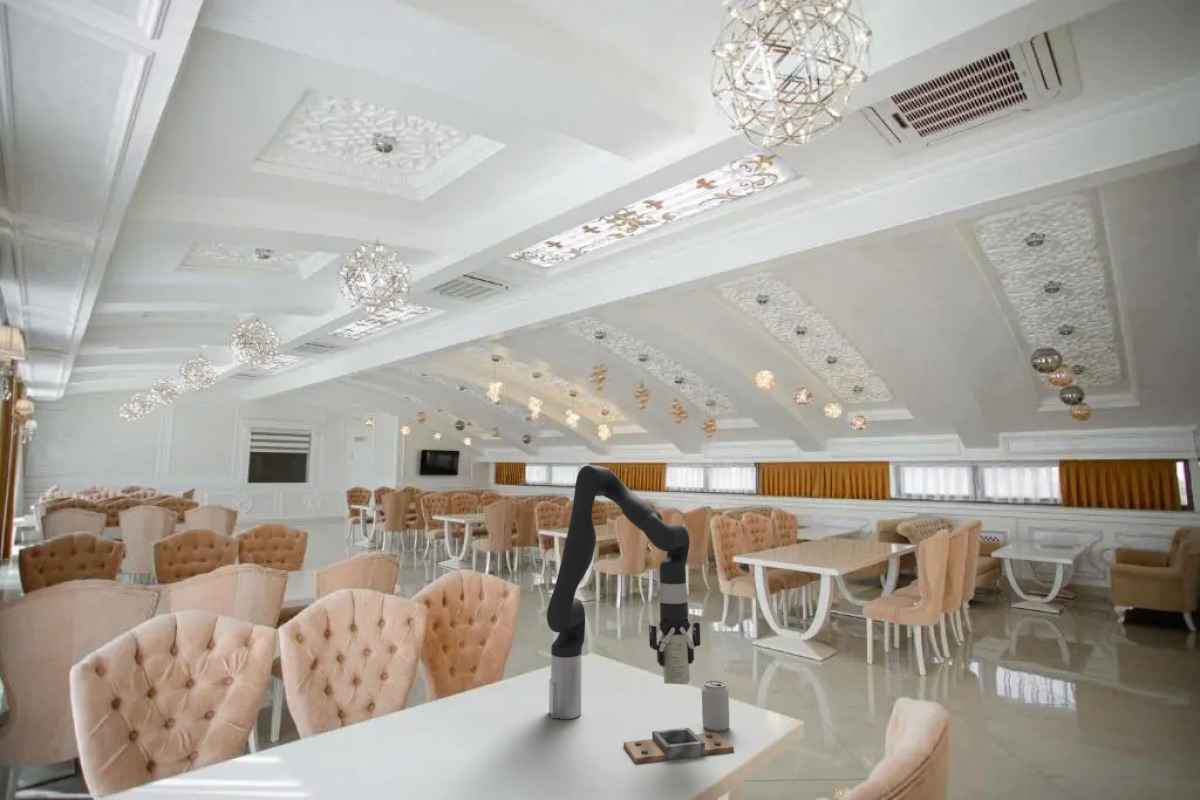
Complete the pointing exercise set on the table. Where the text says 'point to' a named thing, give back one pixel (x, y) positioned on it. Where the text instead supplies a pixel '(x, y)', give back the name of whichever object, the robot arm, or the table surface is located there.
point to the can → (715, 705)
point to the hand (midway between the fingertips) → (675, 664)
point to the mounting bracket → (676, 745)
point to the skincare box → (676, 660)
